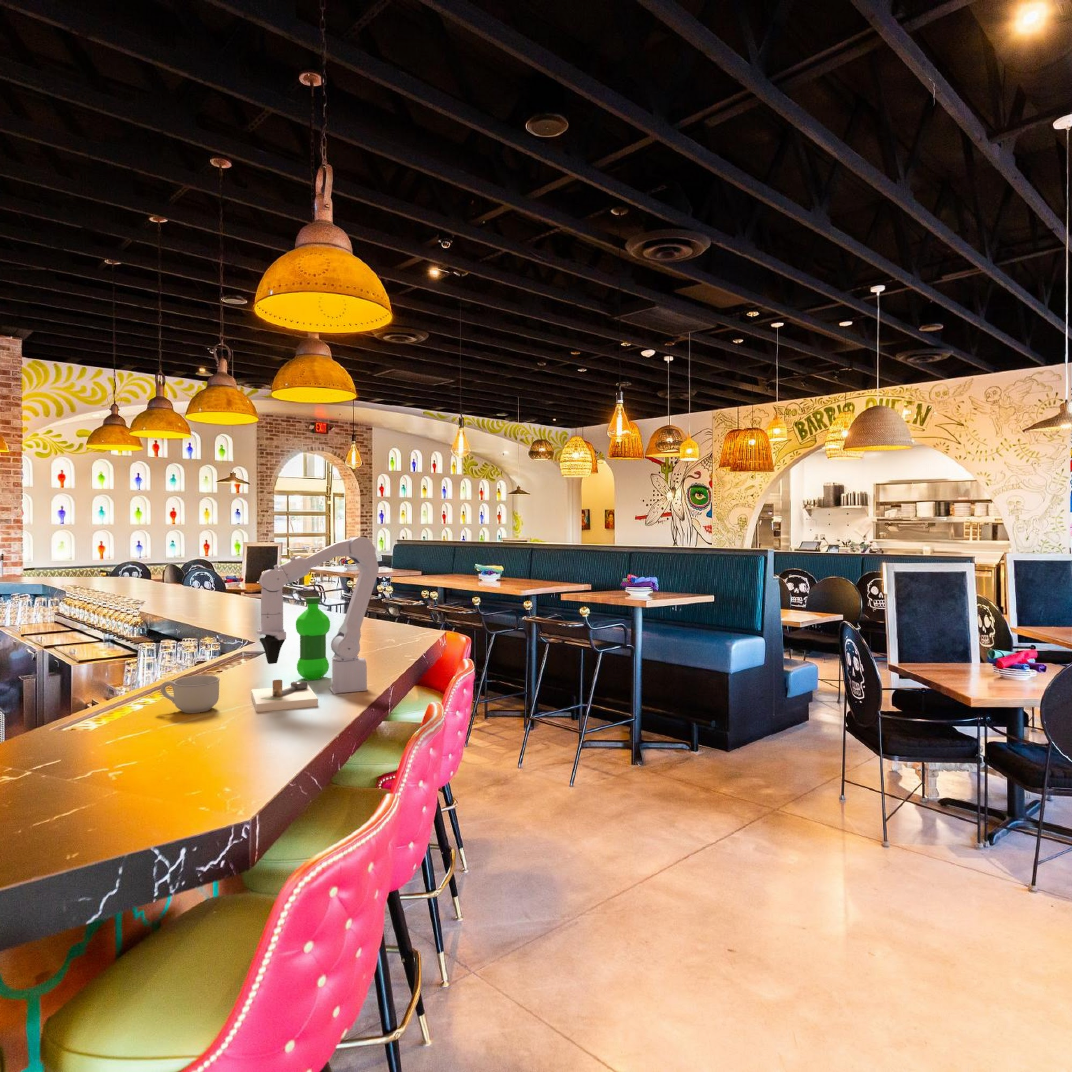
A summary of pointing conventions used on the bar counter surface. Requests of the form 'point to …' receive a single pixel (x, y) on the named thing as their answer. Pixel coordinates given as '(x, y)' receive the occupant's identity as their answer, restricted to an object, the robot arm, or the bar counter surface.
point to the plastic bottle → (312, 641)
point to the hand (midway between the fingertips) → (272, 663)
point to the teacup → (193, 693)
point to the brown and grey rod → (294, 686)
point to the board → (283, 699)
